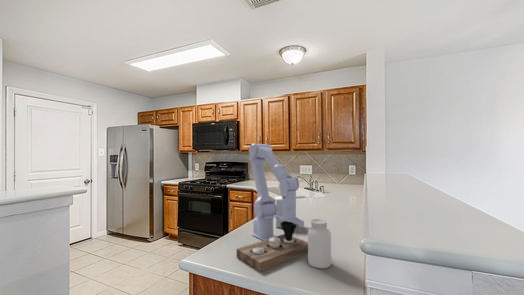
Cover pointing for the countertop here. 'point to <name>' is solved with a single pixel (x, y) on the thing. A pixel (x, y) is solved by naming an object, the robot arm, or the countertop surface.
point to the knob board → (271, 253)
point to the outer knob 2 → (288, 241)
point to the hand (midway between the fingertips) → (288, 240)
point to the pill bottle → (319, 244)
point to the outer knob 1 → (258, 251)
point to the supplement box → (278, 210)
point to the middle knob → (274, 243)
